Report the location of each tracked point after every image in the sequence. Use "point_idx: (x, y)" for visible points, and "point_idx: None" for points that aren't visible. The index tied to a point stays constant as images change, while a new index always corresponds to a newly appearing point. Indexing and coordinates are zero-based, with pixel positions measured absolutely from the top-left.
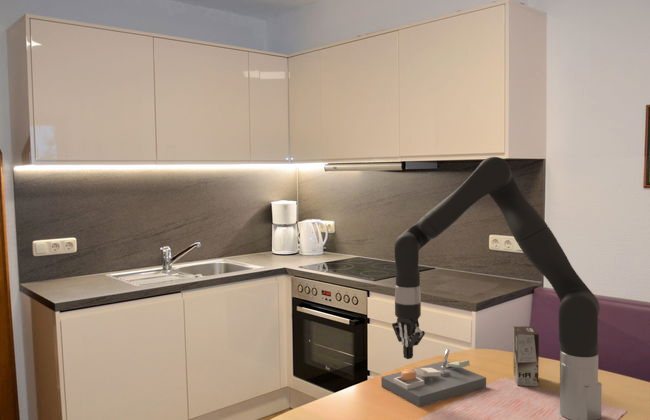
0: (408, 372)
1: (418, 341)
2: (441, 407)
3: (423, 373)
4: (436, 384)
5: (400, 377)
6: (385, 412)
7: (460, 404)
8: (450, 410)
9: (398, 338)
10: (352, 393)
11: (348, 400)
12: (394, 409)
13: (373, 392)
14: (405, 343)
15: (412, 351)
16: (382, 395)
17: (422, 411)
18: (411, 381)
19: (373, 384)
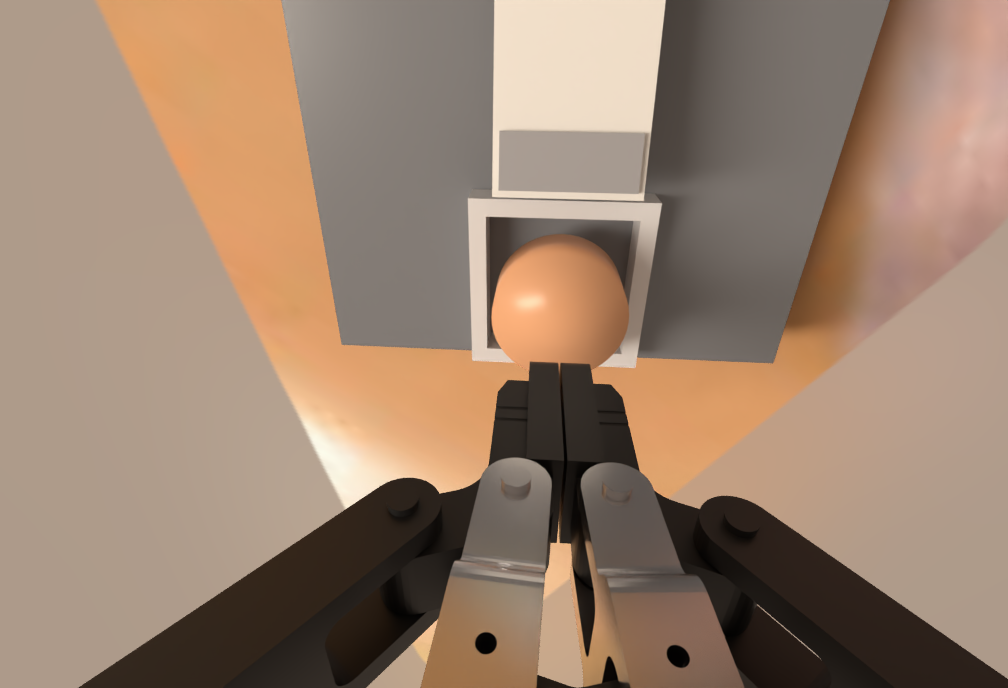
0: (577, 335)
1: (843, 600)
2: (866, 223)
3: (643, 197)
4: (725, 91)
5: (486, 312)
6: (659, 482)
7: (968, 60)
8: (946, 206)
9: (389, 613)
10: (380, 472)
11: None
12: (665, 437)
13: (421, 395)
14: (574, 591)
15: (630, 440)
16: (483, 383)
17: (798, 350)
18: (535, 231)
19: (313, 331)
